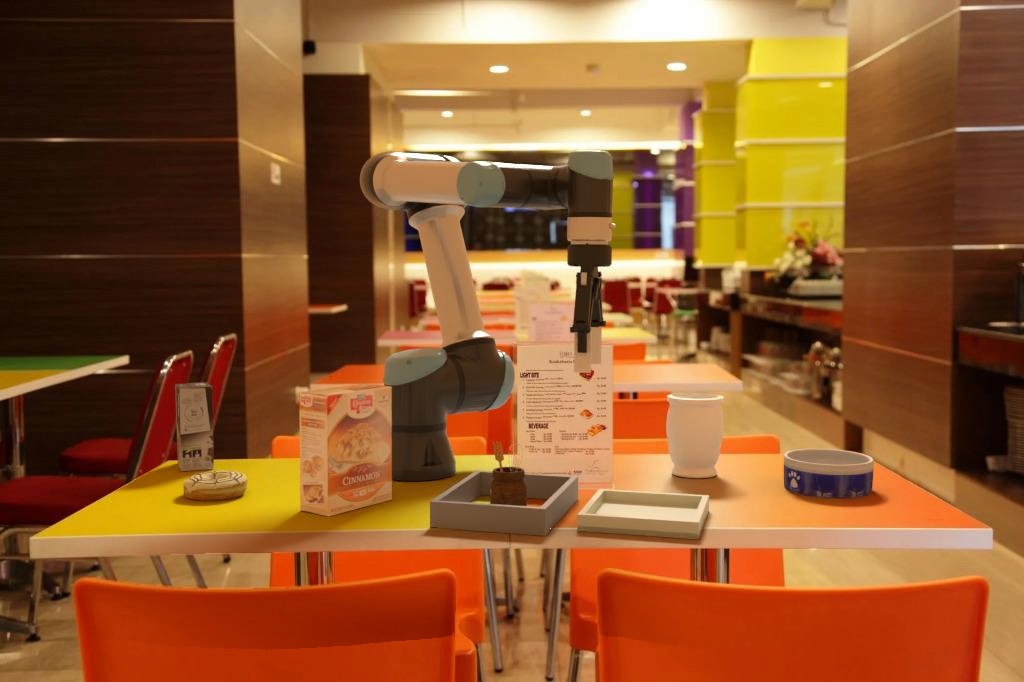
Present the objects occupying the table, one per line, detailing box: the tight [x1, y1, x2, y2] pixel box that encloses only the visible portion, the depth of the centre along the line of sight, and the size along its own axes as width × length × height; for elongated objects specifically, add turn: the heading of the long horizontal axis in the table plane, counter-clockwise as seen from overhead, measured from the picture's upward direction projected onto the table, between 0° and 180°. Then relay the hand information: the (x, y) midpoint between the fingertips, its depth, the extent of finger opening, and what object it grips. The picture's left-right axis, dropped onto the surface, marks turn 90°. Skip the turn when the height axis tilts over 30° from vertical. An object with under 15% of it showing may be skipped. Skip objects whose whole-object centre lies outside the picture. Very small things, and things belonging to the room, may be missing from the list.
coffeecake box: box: [298, 383, 393, 517], centre depth 173 cm, size 15×7×20 cm, turn 143°
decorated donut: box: [182, 470, 249, 502], centre depth 181 cm, size 10×11×4 cm
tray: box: [576, 488, 710, 540], centre depth 164 cm, size 18×18×2 cm
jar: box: [665, 392, 725, 479], centre depth 198 cm, size 11×10×15 cm
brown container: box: [489, 441, 528, 506], centre depth 168 cm, size 6×6×12 cm
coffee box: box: [174, 381, 215, 472], centre depth 205 cm, size 9×6×16 cm
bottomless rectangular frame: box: [429, 470, 579, 537], centre depth 169 cm, size 18×24×4 cm
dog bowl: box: [783, 448, 875, 499], centre depth 186 cm, size 15×15×6 cm
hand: (588, 368), depth 180 cm, fingers open, 13 cm apart
